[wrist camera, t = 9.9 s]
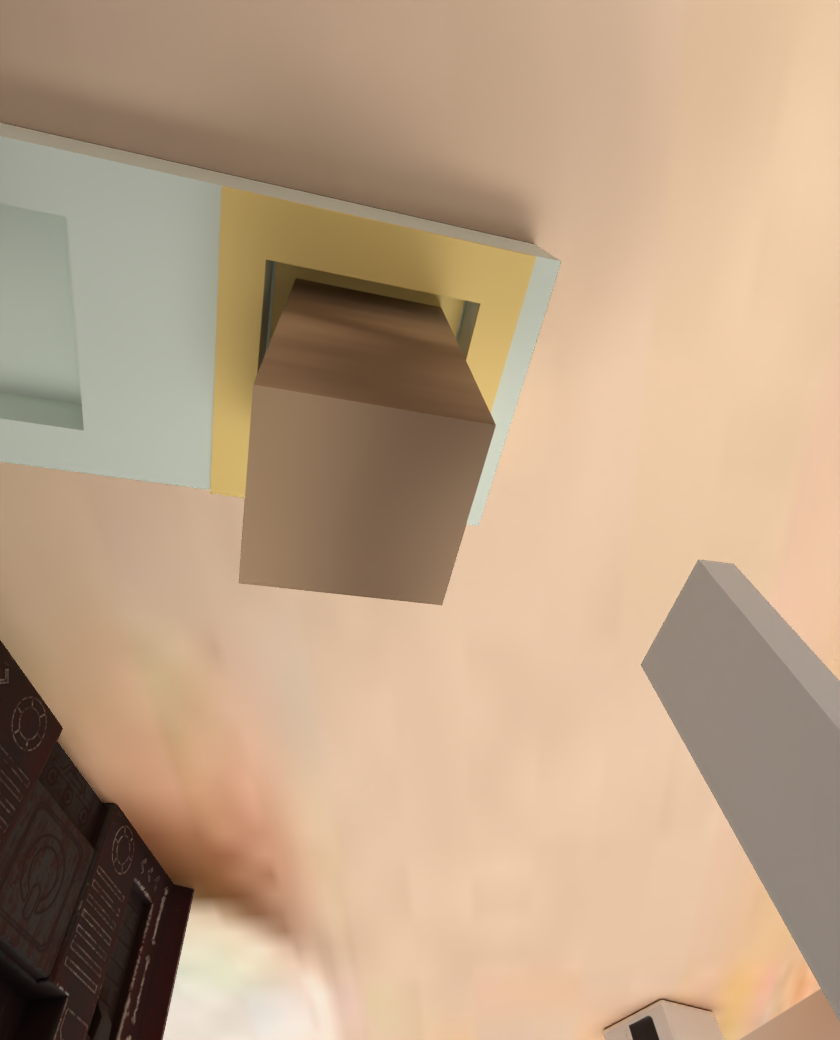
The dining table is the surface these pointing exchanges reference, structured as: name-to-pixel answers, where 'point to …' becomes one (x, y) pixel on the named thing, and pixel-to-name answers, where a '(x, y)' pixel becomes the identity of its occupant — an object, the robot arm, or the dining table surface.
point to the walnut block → (361, 448)
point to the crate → (75, 894)
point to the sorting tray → (209, 305)
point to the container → (666, 1024)
